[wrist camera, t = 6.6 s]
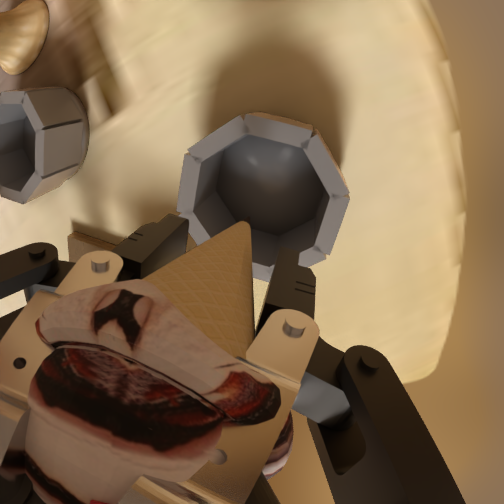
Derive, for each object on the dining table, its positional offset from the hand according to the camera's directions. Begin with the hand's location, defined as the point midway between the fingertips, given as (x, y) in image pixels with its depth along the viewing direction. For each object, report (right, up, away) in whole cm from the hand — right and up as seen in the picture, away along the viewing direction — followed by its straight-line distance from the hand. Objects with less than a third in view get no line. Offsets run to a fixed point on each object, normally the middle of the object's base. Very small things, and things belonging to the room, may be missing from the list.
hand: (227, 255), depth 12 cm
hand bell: (-21, +21, +8) cm, 31 cm away
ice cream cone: (+1, +2, +4) cm, 4 cm away
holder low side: (+2, +5, +10) cm, 12 cm away
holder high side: (-17, +11, +12) cm, 23 cm away
